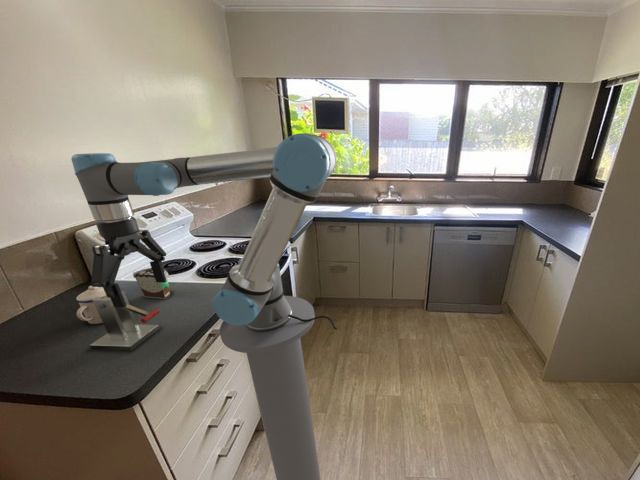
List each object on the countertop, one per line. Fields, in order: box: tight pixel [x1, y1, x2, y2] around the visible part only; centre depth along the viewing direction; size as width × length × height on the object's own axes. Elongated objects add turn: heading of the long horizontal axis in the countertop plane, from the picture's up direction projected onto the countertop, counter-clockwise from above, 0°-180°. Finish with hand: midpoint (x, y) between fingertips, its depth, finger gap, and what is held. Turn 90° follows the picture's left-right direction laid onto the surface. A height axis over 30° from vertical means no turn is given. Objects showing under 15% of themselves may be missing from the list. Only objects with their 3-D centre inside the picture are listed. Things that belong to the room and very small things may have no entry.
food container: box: [132, 267, 171, 300], centre depth 108 cm, size 12×6×10 cm, turn 80°
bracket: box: [89, 290, 160, 351], centre depth 83 cm, size 12×10×15 cm
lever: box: [103, 296, 160, 324], centre depth 81 cm, size 13×5×2 cm, turn 88°
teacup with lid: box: [75, 285, 106, 325], centre depth 92 cm, size 12×9×12 cm
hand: (142, 293), depth 80 cm, fingers open, 13 cm apart
